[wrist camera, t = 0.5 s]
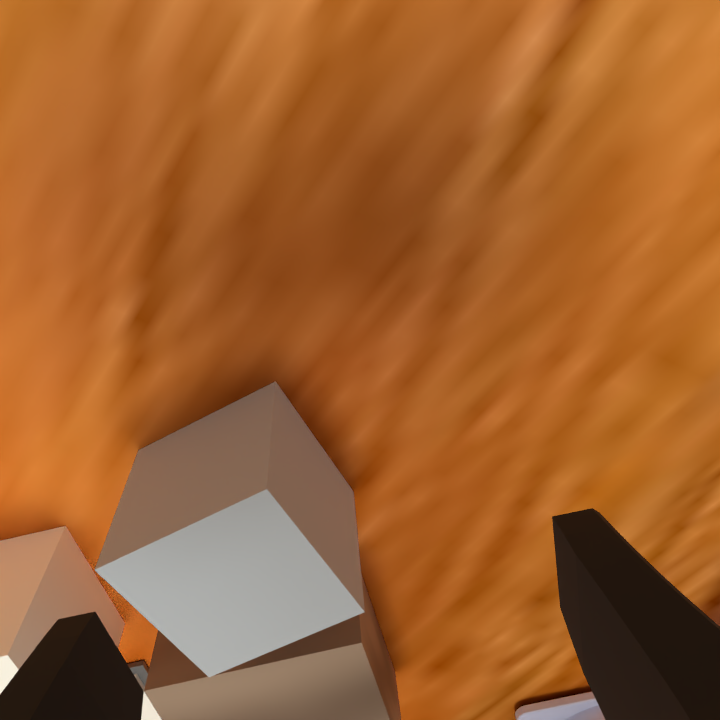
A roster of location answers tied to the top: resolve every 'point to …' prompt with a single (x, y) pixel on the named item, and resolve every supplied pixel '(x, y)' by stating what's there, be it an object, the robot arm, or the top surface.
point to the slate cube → (236, 535)
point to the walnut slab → (285, 679)
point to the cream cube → (45, 594)
